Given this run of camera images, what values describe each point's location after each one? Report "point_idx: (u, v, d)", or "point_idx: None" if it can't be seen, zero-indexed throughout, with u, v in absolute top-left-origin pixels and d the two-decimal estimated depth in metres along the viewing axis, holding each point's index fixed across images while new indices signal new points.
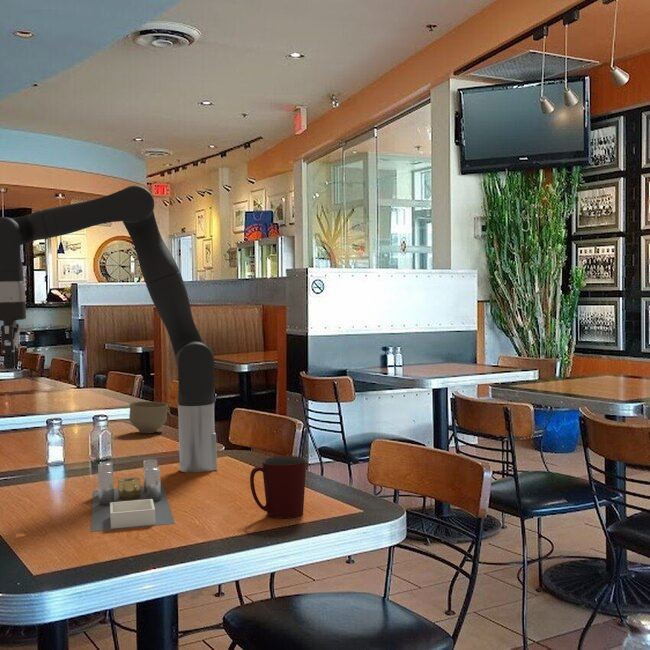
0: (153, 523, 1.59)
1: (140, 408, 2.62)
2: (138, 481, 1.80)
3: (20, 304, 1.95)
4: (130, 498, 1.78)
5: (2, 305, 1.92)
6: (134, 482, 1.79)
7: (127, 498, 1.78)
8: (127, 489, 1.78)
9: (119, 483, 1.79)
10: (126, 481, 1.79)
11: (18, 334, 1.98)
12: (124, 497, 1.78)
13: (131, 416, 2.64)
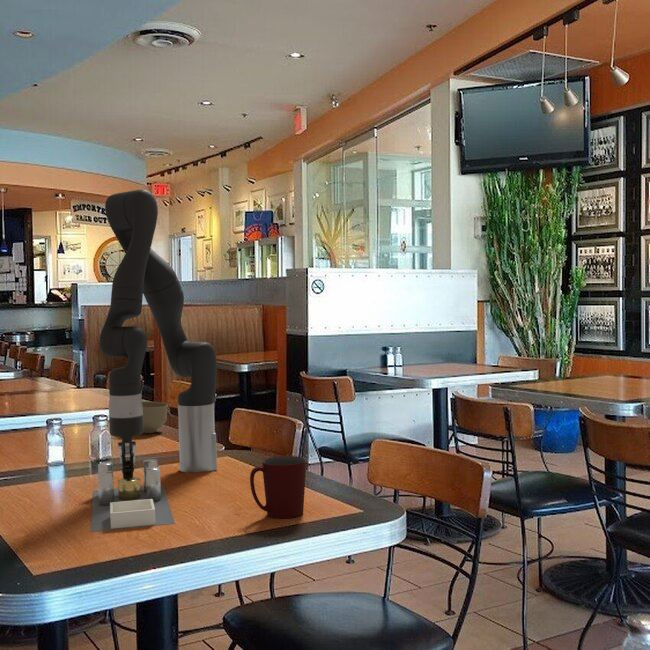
0: (153, 523, 1.59)
1: None
2: (138, 481, 1.80)
3: (139, 419, 1.83)
4: (131, 498, 1.78)
5: (121, 421, 1.81)
6: (134, 482, 1.79)
7: (127, 498, 1.78)
8: (127, 489, 1.78)
9: (119, 483, 1.79)
10: (126, 481, 1.79)
11: None
12: (124, 497, 1.78)
13: None
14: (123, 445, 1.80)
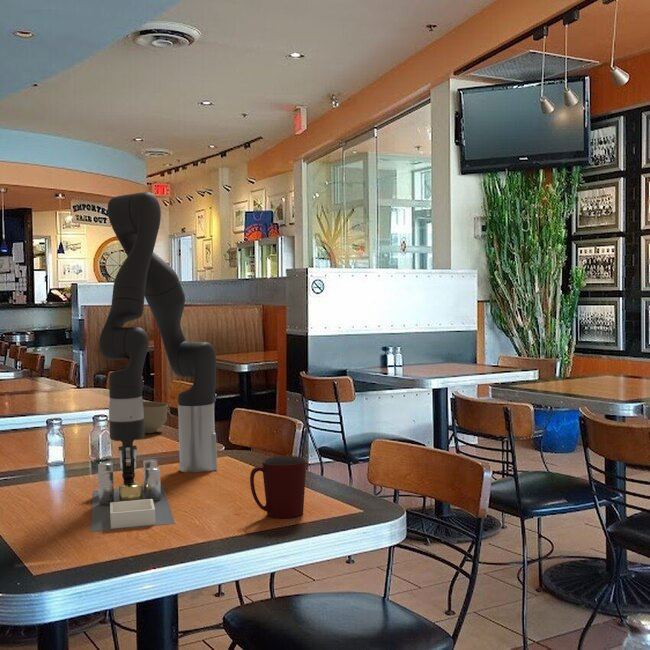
0: (153, 523, 1.59)
1: None
2: (139, 487, 1.74)
3: (140, 422, 1.77)
4: None
5: (122, 424, 1.75)
6: (135, 488, 1.73)
7: None
8: (128, 495, 1.73)
9: (120, 489, 1.73)
10: (127, 487, 1.73)
11: None
12: None
13: None
14: (124, 450, 1.75)
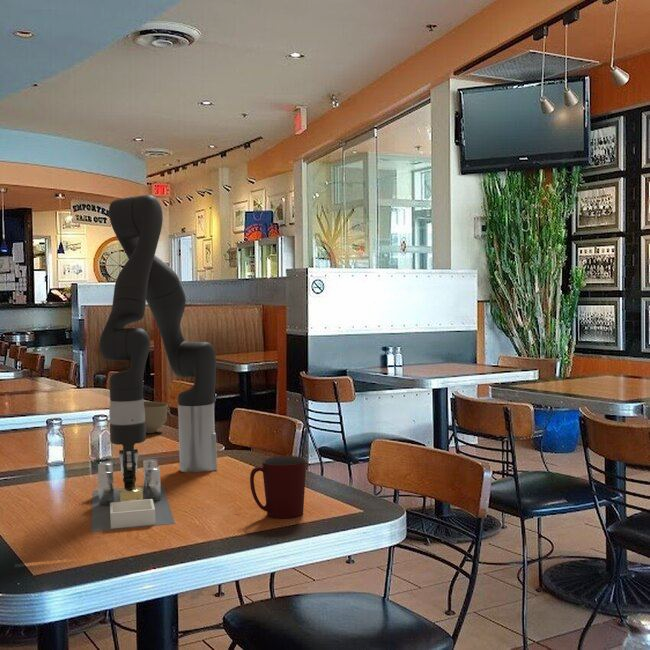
0: (153, 523, 1.59)
1: None
2: (140, 491, 1.70)
3: (141, 425, 1.73)
4: None
5: (122, 428, 1.71)
6: (136, 493, 1.69)
7: None
8: (128, 500, 1.69)
9: (120, 494, 1.69)
10: (128, 491, 1.69)
11: None
12: None
13: None
14: (125, 453, 1.71)
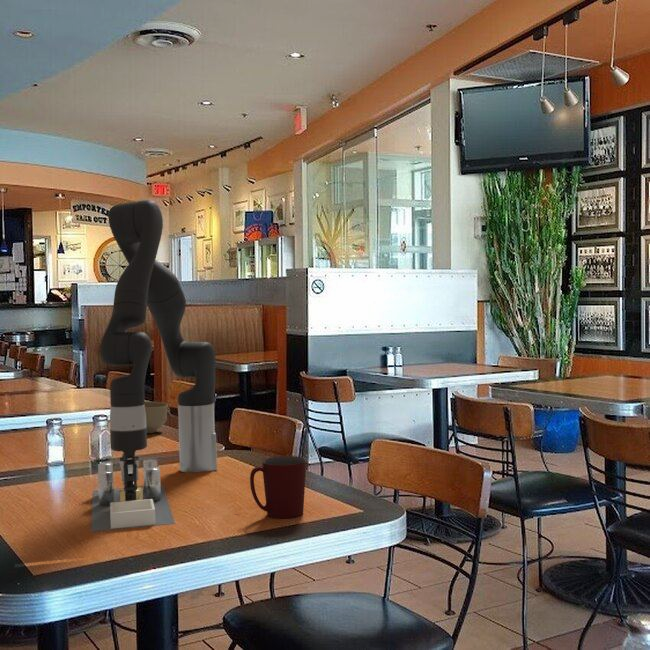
0: (153, 523, 1.59)
1: None
2: (140, 491, 1.70)
3: (142, 432, 1.69)
4: None
5: (123, 434, 1.67)
6: (136, 492, 1.69)
7: None
8: None
9: (120, 493, 1.70)
10: None
11: None
12: None
13: None
14: (125, 460, 1.67)
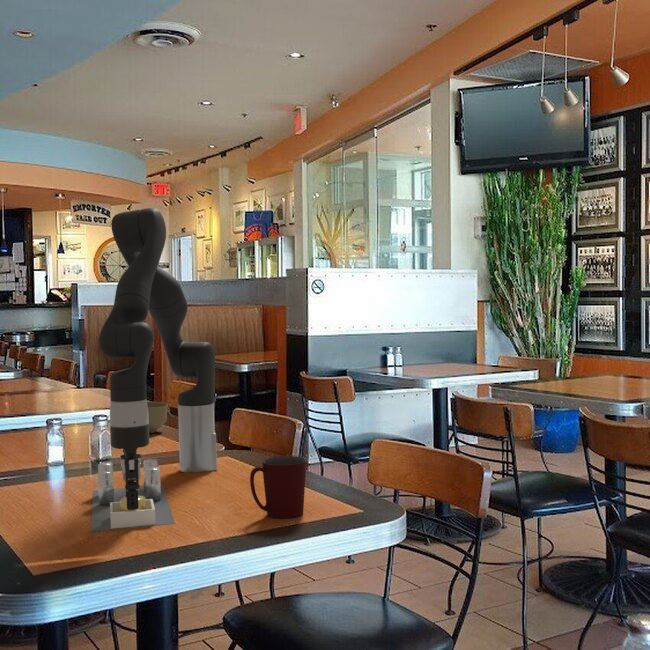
0: (153, 523, 1.59)
1: None
2: (143, 500, 1.61)
3: (144, 428, 1.60)
4: None
5: (124, 430, 1.57)
6: (138, 501, 1.60)
7: None
8: None
9: (121, 502, 1.60)
10: None
11: None
12: None
13: None
14: (126, 458, 1.57)
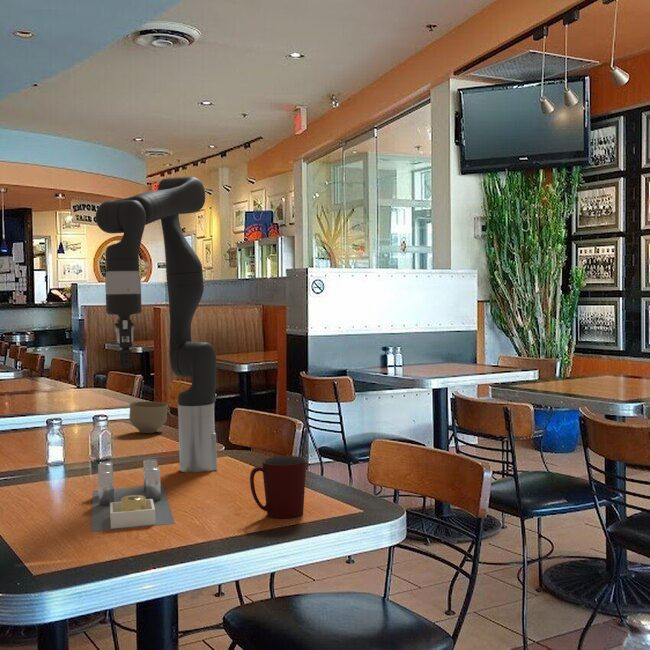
0: (153, 523, 1.59)
1: (140, 408, 2.62)
2: (144, 500, 1.61)
3: (137, 296, 1.75)
4: None
5: (118, 297, 1.73)
6: (139, 501, 1.60)
7: None
8: (131, 509, 1.59)
9: (122, 502, 1.60)
10: (130, 500, 1.60)
11: None
12: None
13: (131, 416, 2.64)
14: None
